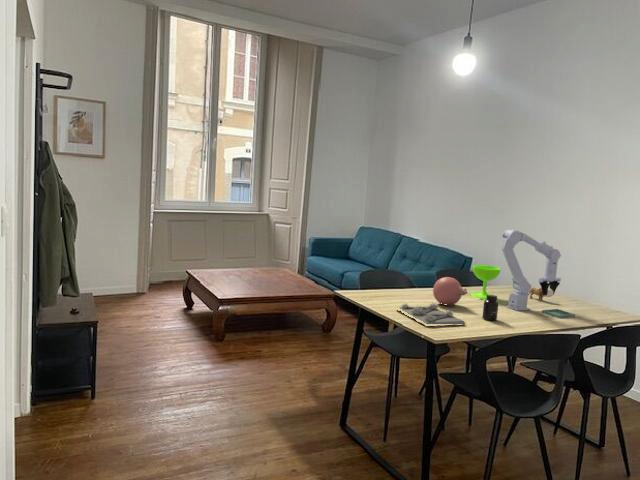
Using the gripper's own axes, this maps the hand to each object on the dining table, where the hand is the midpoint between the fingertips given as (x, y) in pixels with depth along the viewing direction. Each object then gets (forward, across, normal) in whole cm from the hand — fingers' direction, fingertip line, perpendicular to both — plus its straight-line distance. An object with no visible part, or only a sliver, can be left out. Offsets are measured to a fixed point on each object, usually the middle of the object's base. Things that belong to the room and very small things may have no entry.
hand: (548, 294), depth 273 cm
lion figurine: (+9, +16, +20) cm, 27 cm away
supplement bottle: (+9, -49, -8) cm, 50 cm away
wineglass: (+9, -15, +32) cm, 37 cm away
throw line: (+8, 0, -2) cm, 9 cm away
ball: (+1, 0, 0) cm, 1 cm away
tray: (+8, -3, -10) cm, 13 cm away
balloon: (+9, -51, +19) cm, 55 cm away
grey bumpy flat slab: (+9, -78, +2) cm, 78 cm away
